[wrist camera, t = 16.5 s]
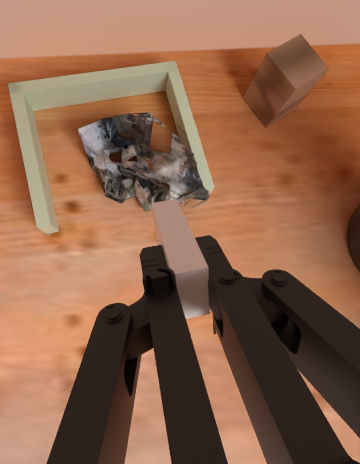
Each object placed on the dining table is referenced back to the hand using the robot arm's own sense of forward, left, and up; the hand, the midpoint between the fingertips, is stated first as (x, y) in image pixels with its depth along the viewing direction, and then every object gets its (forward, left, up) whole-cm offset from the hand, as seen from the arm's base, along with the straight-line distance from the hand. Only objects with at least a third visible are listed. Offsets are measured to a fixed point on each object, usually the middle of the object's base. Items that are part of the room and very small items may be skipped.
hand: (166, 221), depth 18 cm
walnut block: (+19, -24, -22) cm, 38 cm away
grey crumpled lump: (+12, -2, -22) cm, 25 cm away
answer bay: (+16, +1, -22) cm, 27 cm away
